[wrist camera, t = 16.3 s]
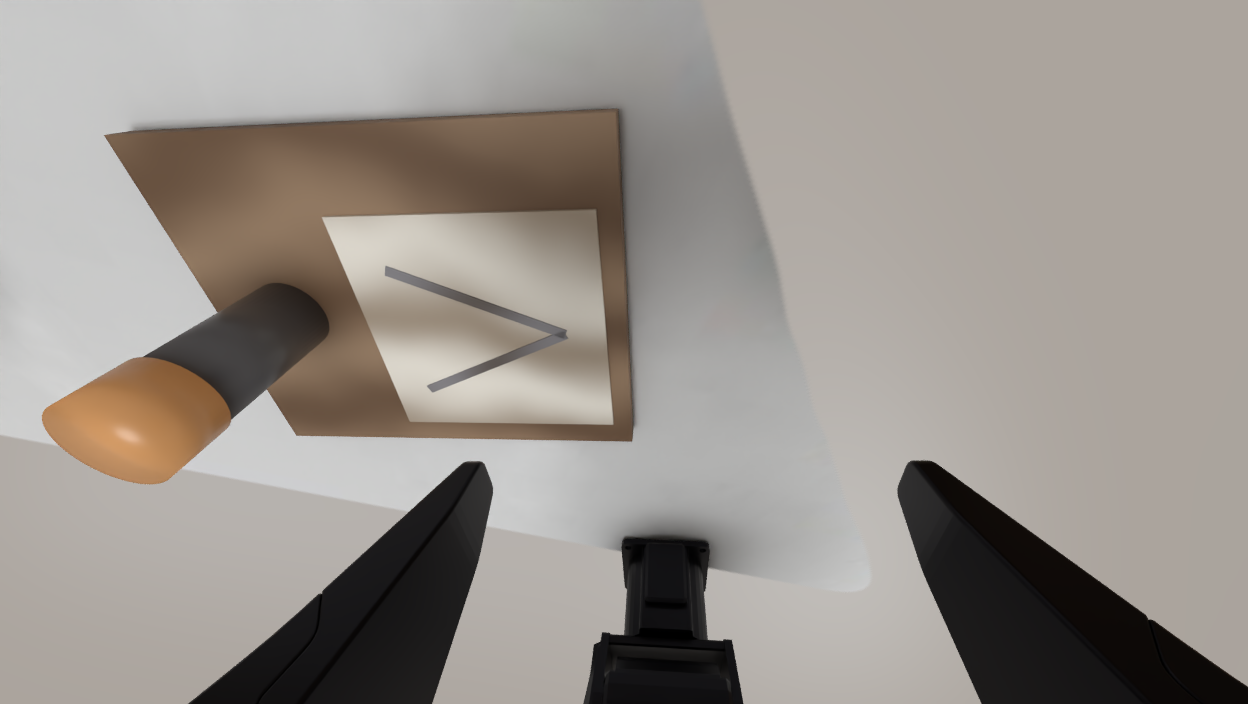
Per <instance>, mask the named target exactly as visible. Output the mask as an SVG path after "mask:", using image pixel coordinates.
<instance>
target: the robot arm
mask: <svg viewBox="0 0 1248 704" xmlns="http://www.w3.org/2000/svg"><path fill="white" fill-rule="evenodd" d="M492 496H493V486H492V483H491V480H490V477H489V475H488V472H487V469H486V467H485V464H484V463H483V462H480V461H468V462H464V463H462V464H461V465H460V466H459V467H458V468H457V469H456V470H455V471H453V472H452V473H451V474H450V475H449V476H448V477H447V478H446V479H445V480H444V481H442V482H441V483H440V484H439V485H438V486H437V487H436V488H435V489H434V490H433V491H431V492H430V493H429V494H428V495H427V496H426V497H425V498H424V499H423V500H422V501H420V502H419V503H418V504H417V505H416V506H415V507H414V508H413V509H412V510H411V511H409V512H408V513H407V514H406V515H405V516H404V517H403V518H402V519H401V520H400V521H398V522H397V523H396V524H395V525H394V526H393V527H392V528H391V529H390V530H389V531H387V532H386V533H385V534H384V535H383V536H382V537H381V538H380V539H379V540H378V541H377V542H375V543H374V544H373V545H372V546H371V547H370V548H369V549H368V550H367V551H366V552H364V553H363V554H362V555H361V556H360V557H359V558H358V559H357V560H356V561H355V562H353V563H352V564H351V565H350V566H349V567H348V568H347V569H346V570H345V571H344V572H342V573H341V574H340V575H339V576H338V577H337V578H336V579H335V580H334V581H333V582H332V583H330V584H329V585H328V586H327V587H326V588H325V589H324V590H323V591H322V594H318V595H317V596H316V597H315V598H314V599H313V600H312V601H310V602H309V603H308V604H307V605H306V606H305V607H304V608H303V609H302V610H300V611H299V612H298V613H297V614H296V615H295V616H294V617H293V618H291V619H290V620H289V621H288V622H287V623H286V624H285V625H283V626H282V627H281V628H280V629H279V630H278V631H277V632H275V633H274V634H273V635H272V636H271V637H270V638H268V639H267V640H266V641H265V642H264V643H262V644H261V645H260V646H259V647H258V648H256V649H255V650H254V651H253V652H252V653H250V654H249V655H248V656H247V657H246V658H244V659H243V660H242V661H241V662H239V663H238V664H237V665H236V666H234V667H233V668H232V669H231V670H230V671H228V672H227V673H226V674H225V675H223V676H222V677H221V678H220V679H219V680H217V681H216V682H215V683H213V684H212V685H211V686H210V687H209V688H207V689H206V690H205V691H203V692H202V693H201V694H200V695H199V696H197V697H196V698H195V699H193V700H192V701H191V702H190V703H189V704H432V702H433V699H434V696H435V693H436V690H437V687H438V684H439V680H440V678H441V675H442V672H443V669H444V666H445V663H446V659H447V656H448V653H449V650H450V647H451V644H452V641H453V638H454V635H455V632H456V629H457V626H458V623H459V619H460V617H461V613H462V610H463V607H464V604H465V601H466V598H467V595H468V592H469V589H470V586H471V583H472V580H473V577H474V574H475V571H476V567H477V564H478V560H479V556H480V552H481V548H482V543H483V538H484V533H485V529H486V524H487V519H488V515H489V510H490V505H491V501H492ZM898 498H899V501H900V505H901V507H902V510H903V514H904V517H905V520H906V523H907V526H908V529H909V532H910V535H911V538H912V541H913V544H914V547H915V551H916V554H917V557H918V560H919V563H920V565H921V568H922V571H923V573H924V576H925V578H926V581H927V583H928V585H929V587H930V589H931V592H932V594H933V596H934V599H935V601H936V603H937V605H938V607H939V610H940V612H941V614H942V616H943V619H944V621H945V623H946V625H947V627H948V630H949V632H950V634H951V637H952V639H953V641H954V643H955V645H956V648H957V650H958V652H959V654H960V657H961V659H962V661H963V663H964V666H965V668H966V670H967V672H968V674H969V677H970V679H971V681H972V683H973V685H974V688H975V690H976V692H977V694H978V697H979V699H980V701H981V703H982V704H1248V687H1247V686H1246V685H1244V684H1243V683H1241V682H1240V681H1238V680H1237V679H1235V678H1234V677H1232V676H1231V675H1229V674H1228V673H1227V672H1225V671H1224V670H1222V669H1221V668H1220V667H1218V666H1217V665H1215V664H1214V663H1213V662H1211V661H1209V660H1208V659H1207V658H1205V657H1204V656H1203V655H1201V654H1200V653H1198V652H1197V651H1196V650H1194V649H1193V648H1191V647H1190V646H1188V645H1187V644H1186V643H1184V642H1183V641H1181V640H1180V639H1179V638H1177V637H1176V636H1174V635H1173V634H1172V633H1170V632H1169V631H1167V630H1166V629H1165V628H1163V627H1162V626H1160V625H1159V624H1158V623H1156V622H1155V621H1153V620H1148V618H1147V616H1146V615H1145V614H1144V613H1142V612H1141V611H1139V610H1138V609H1137V608H1135V607H1134V606H1133V605H1131V604H1130V603H1129V602H1127V601H1126V600H1124V599H1123V598H1122V597H1120V596H1119V595H1117V594H1116V593H1115V592H1113V591H1112V590H1111V589H1109V588H1108V587H1106V586H1105V585H1104V584H1102V583H1101V582H1100V581H1098V580H1097V579H1095V578H1094V577H1093V576H1091V575H1090V574H1088V573H1087V572H1086V571H1084V570H1083V569H1082V568H1080V567H1078V566H1077V565H1076V564H1075V563H1073V562H1072V561H1070V560H1069V559H1068V558H1066V557H1065V556H1064V555H1062V554H1061V553H1059V552H1058V551H1057V550H1055V549H1054V548H1052V547H1051V546H1050V545H1048V544H1047V543H1046V542H1044V541H1043V540H1041V539H1040V538H1039V537H1037V536H1036V535H1034V534H1033V533H1032V532H1030V531H1029V530H1027V529H1026V528H1025V527H1023V526H1022V525H1020V524H1019V523H1018V522H1016V521H1015V520H1014V519H1012V518H1011V517H1010V516H1008V515H1007V514H1005V513H1004V512H1003V511H1001V510H1000V509H999V508H997V507H996V506H994V505H993V504H992V503H990V502H989V501H988V500H986V499H985V498H983V497H982V496H981V495H979V494H978V493H976V492H975V491H973V490H972V489H971V488H970V487H968V486H967V485H965V484H964V483H963V482H961V481H960V480H958V479H957V478H956V477H954V476H953V475H952V474H950V473H949V472H947V471H946V470H945V469H943V468H942V467H940V466H939V465H938V464H936V463H934V462H932V461H910V462H909V463H908V464H907V466H906V468H905V470H904V473H903V475H902V478H901V480H900V483H899V485H898ZM709 552H710V549H709V544H708V543H706V542H699V541H671V540H644V539H625V540H623V541H622V558H623V570H624V582H625V588H626V589H627V599H626V615H625V630H624V635H612V634H610V633H604V632H603V633H602V637H601V641H600V642H599V643H596V644H594V648H593V657H592V665H591V672H590V678H589V682H588V687H587V691H586V695H585V699H584V704H743V699H742V694H741V688H740V683H739V678H738V672H737V666H736V660H735V655H734V650H733V644H732V640H726V639H724V640H723V641H715V640H708V638H707V625H706V613H705V602H704V591H705V589H706V580H707V570H708V561H709Z"/></svg>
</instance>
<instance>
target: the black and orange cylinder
mask: <svg viewBox="0 0 1248 704" xmlns="http://www.w3.org/2000/svg"><path fill="white" fill-rule="evenodd" d="M328 333H329V321H328V318H327V316H326V314H325V312H324V310H323V309H322V308H321V306H320V305H319V304H318V303H317V302H316V301H315V300H314V299H313V298H312V297H311V296H309V295H308V294H307V293H305V292H303V291H302V290H300V289H298V288H296V287H293V286H291V285H287V284H283V283H270V284H266V285H264V286H262V287H260V288H259V289H257V290H255V291H254V292H252V293H250V294H249V295H247V296H245V297H244V298H242V299H240V300H238V301H237V302H235V303H233V304H232V305H230V306H228V307H227V308H225V309H223V310H222V311H220V312H218V313H216V314H215V315H213V316H211V317H210V318H208V319H206V320H205V321H203V322H201V323H200V324H198V325H196V326H194V327H193V328H191V329H189V330H188V331H186V332H184V333H183V334H181V335H179V336H178V337H176V338H174V339H172V340H171V341H169V342H167V343H166V344H164V345H162V346H161V347H159V348H157V349H156V350H154V351H152V352H150V353H149V354H147V355H145V356H144V357H138V358H133V359H130V360H128V361H126V362H124V363H123V364H121V365H119V366H117V367H116V368H114V369H112V370H110V371H109V372H107V373H105V374H104V375H102V376H100V377H98V378H97V379H95V380H93V381H92V382H90V383H88V384H86V385H85V386H83V387H81V388H79V389H78V390H76V391H74V392H73V393H71V394H69V395H67V396H66V397H64V398H62V399H61V400H59V401H57V402H55V403H54V404H52V405H50V406H49V407H47V408H46V409H45V410H44V412H43V414H42V421H43V425H44V427H45V429H46V431H47V432H48V434H49V435H50V436H51V438H52V439H53V440H54V441H55V442H56V443H57V444H58V445H59V446H60V447H61V448H63V449H64V450H65V451H66V452H68V453H69V454H70V455H72V456H73V457H75V458H76V459H78V460H79V461H81V462H82V463H84V464H86V465H88V466H90V467H91V468H93V469H96V470H98V471H100V472H102V473H104V474H107V475H109V476H112V477H115V478H118V479H121V480H125V481H129V482H133V483H140V484H158V483H162V482H165V481H167V480H168V479H169V478H171V477H172V476H173V475H174V474H175V473H177V472H178V471H179V470H180V469H181V468H182V467H183V466H185V465H186V464H187V463H188V462H189V461H190V460H191V459H193V458H194V457H195V456H196V455H197V454H198V453H200V452H201V451H202V450H203V449H204V448H205V447H206V446H208V445H209V444H210V443H211V442H212V441H213V440H214V439H216V438H217V437H218V436H219V435H220V434H221V433H222V432H224V431H225V430H226V429H227V428H228V427H229V425H230V422H231V419H232V418H234V417H235V416H236V415H237V414H238V413H239V412H241V411H242V410H243V409H244V408H245V407H246V406H248V405H249V404H250V403H251V402H252V401H253V400H255V399H256V398H257V397H258V396H259V395H260V394H262V393H263V392H264V391H265V390H266V389H267V388H269V387H270V386H271V385H272V384H273V383H274V382H276V381H277V380H278V379H279V378H280V377H281V376H283V375H284V374H285V373H286V372H287V371H288V370H290V369H291V368H292V367H293V366H294V365H295V364H297V363H298V362H299V361H300V360H301V359H302V358H304V357H305V356H306V355H307V354H308V353H309V352H311V351H312V350H313V349H314V348H315V347H316V346H318V345H319V344H320V343H321V342H322V341H323V340H325V338H326V337H327V336H328Z"/></svg>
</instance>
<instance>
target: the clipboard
mask: <svg viewBox="0 0 1248 704" xmlns="http://www.w3.org/2000/svg"><path fill="white" fill-rule="evenodd" d="M104 136H105V138H106V139H107V141H108V142H109V144H110V145H111V147H112V148H113V150H114V152H115V153H116V155H117V156H118V158H119V159H120V161H121V162H122V164H123V166H124V167H125V169H126V170H127V172H128V173H129V175H130V177H131V178H132V180H133V181H134V183H135V184H136V186H137V187H138V189H139V191H140V192H141V194H142V195H143V197H144V198H145V200H146V201H147V203H148V205H149V206H150V208H151V209H152V211H153V212H154V214H155V216H156V217H157V219H158V220H159V222H160V223H161V225H162V226H163V228H164V230H165V231H166V233H167V234H168V236H169V237H170V239H171V240H172V242H173V244H174V245H175V247H176V248H177V250H178V251H179V253H180V255H181V256H182V258H183V259H184V261H185V262H186V264H187V265H188V267H189V269H190V270H191V272H192V273H193V275H194V276H195V278H196V279H197V281H198V283H199V284H200V286H201V287H202V289H203V290H204V292H205V293H206V295H207V297H208V298H209V300H210V301H211V303H212V304H213V306H214V308H215V309H216V311H217V312H220V311H222V310H223V309H225V308H227V307H228V306H230V305H232V304H233V303H235V302H237V301H238V300H240V299H242V298H244V297H245V296H247V295H249V294H250V293H252V292H254V291H255V290H257V289H259V288H260V287H262V286H264V285H266V284H270V283H283V284H287V285H291V286H293V287H296V288H298V289H300V290H302V291H303V292H305V293H307V294H308V295H309V296H311V297H312V298H313V299H314V300H315V301H316V302H317V303H318V304H319V305H320V306H321V308H322V309H323V310H324V312H325V314H326V316H327V318H328V321H329V333H328V336H327V337H326V338H325V340H323V341H322V342H321V343H320V344H319V345H318V346H316V347H315V348H314V349H313V350H312V351H311V352H309V353H308V354H307V355H306V356H305V357H304V358H302V359H301V360H300V361H299V362H298V363H297V364H295V365H294V366H293V367H292V368H291V369H290V370H288V371H287V372H286V373H285V374H284V375H283V376H281V377H280V378H279V379H278V380H277V381H276V382H274V383H273V384H272V385H271V386H270V387H269V388H267V390H268V392H269V393H270V395H271V396H272V398H273V400H274V401H275V403H276V404H277V406H278V407H279V409H280V410H281V412H282V414H283V415H284V417H285V418H286V420H287V421H288V423H289V425H290V426H291V428H292V429H293V431H294V432H295V434H296V435H297V436H350V437H407V438H464V439H521V440H578V441H632V438H633V410H632V389H631V368H630V347H629V325H628V304H627V283H626V262H625V240H624V219H623V198H622V177H621V155H620V134H619V113H618V109H599V110H577V111H555V112H533V113H512V114H490V115H468V116H446V117H424V118H402V119H380V120H359V121H337V122H315V123H293V124H271V125H249V126H228V127H206V128H184V129H162V130H140V131H128V132H122V133H115V134H108V135H104Z"/></svg>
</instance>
